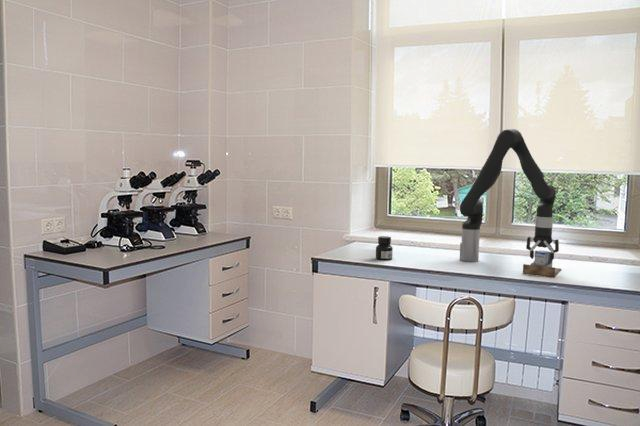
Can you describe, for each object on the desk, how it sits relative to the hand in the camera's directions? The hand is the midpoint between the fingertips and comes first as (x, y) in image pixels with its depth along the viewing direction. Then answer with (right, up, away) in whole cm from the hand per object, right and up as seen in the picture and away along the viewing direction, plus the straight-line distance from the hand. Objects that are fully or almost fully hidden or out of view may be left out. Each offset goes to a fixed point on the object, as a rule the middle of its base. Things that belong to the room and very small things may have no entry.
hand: (541, 259), depth 254 cm
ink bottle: (-72, -3, +30) cm, 78 cm away
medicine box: (0, -5, +1) cm, 5 cm away
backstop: (+2, -6, +4) cm, 8 cm away
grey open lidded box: (0, -7, +1) cm, 7 cm away
